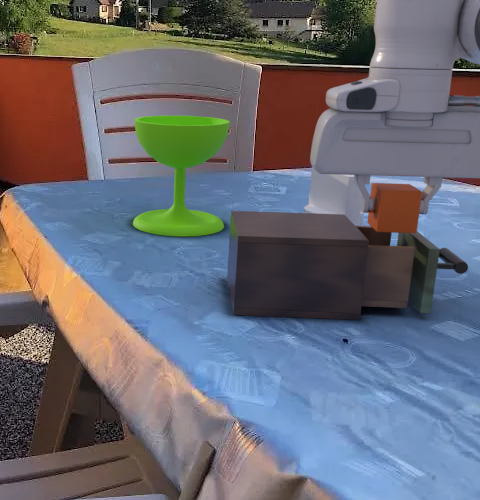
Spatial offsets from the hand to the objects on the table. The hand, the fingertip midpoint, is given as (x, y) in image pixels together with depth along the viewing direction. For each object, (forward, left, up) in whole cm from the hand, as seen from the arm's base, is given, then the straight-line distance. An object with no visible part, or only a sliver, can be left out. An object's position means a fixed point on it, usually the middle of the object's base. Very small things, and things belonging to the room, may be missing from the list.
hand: (392, 212), depth 85 cm
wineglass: (+25, -36, -12) cm, 46 cm away
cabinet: (+11, 0, -11) cm, 16 cm away
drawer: (+1, 0, -11) cm, 11 cm away
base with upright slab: (+1, -25, -12) cm, 28 cm away
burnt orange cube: (0, 0, -2) cm, 2 cm away
